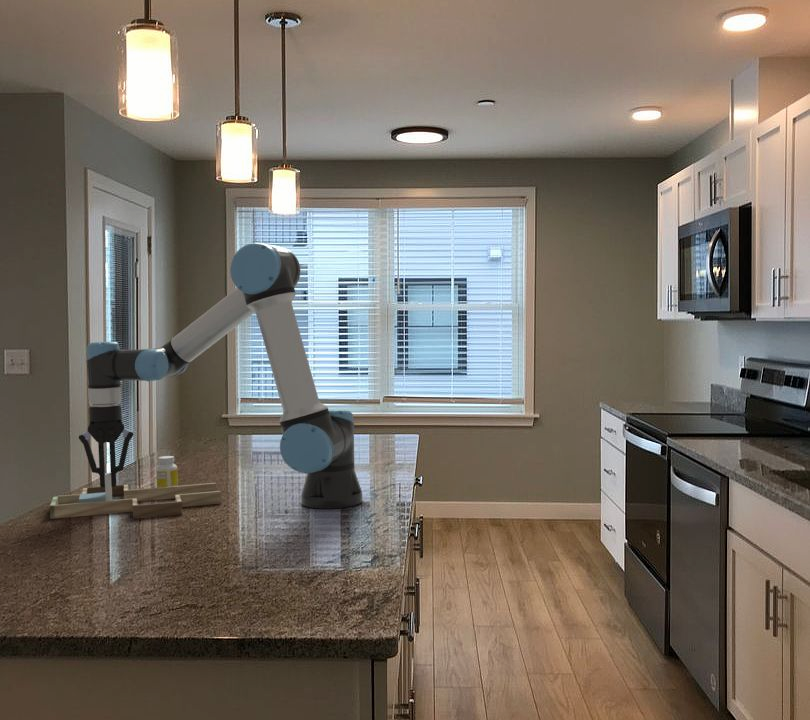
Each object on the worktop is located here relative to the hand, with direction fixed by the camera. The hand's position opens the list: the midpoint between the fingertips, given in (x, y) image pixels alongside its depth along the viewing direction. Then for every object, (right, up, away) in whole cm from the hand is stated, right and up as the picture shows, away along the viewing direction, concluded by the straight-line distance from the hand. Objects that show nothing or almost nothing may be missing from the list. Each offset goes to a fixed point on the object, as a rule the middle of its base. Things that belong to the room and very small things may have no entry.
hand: (108, 499), depth 205 cm
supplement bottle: (+10, -1, +16) cm, 19 cm away
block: (-4, -2, -1) cm, 4 cm away
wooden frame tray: (+6, -2, +2) cm, 7 cm away
